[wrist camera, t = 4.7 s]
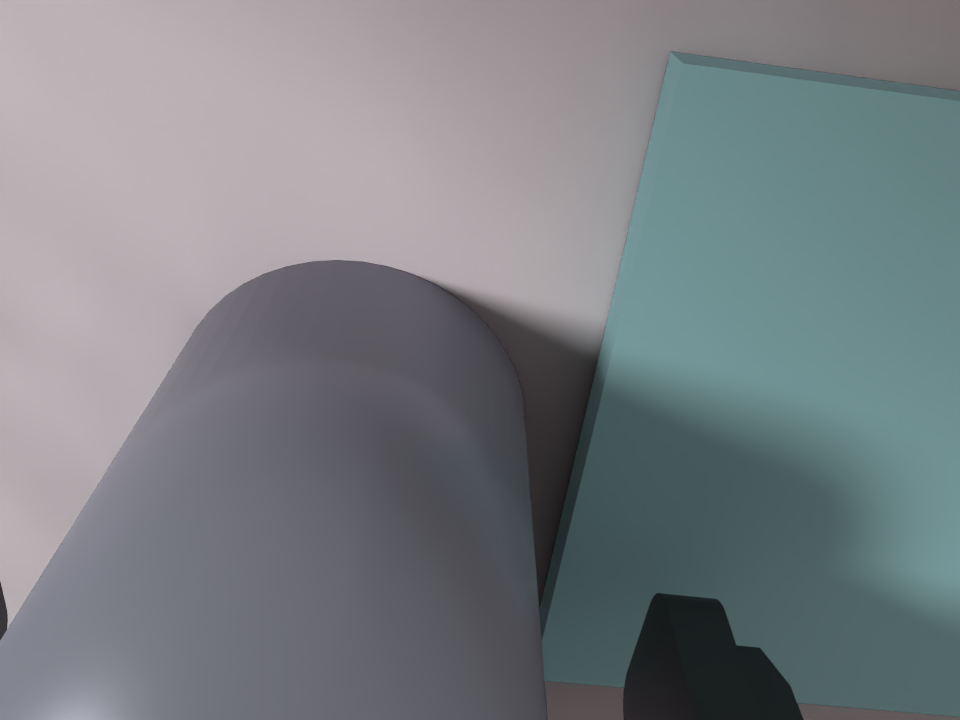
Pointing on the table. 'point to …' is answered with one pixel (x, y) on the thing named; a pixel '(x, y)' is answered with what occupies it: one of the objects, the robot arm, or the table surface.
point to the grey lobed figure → (303, 525)
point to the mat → (779, 391)
